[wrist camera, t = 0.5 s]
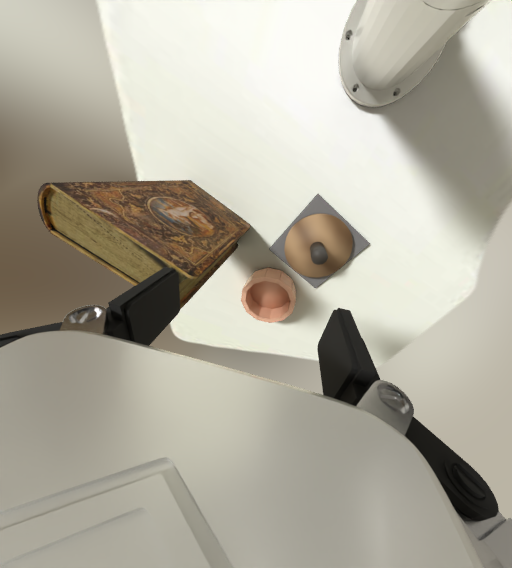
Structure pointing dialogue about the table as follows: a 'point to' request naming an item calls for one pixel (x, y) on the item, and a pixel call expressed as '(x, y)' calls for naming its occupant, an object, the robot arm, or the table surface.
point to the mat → (318, 207)
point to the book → (144, 227)
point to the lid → (318, 245)
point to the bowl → (269, 295)
